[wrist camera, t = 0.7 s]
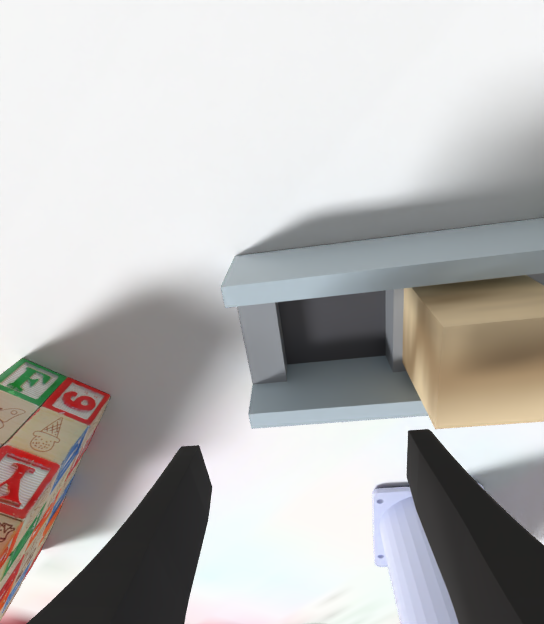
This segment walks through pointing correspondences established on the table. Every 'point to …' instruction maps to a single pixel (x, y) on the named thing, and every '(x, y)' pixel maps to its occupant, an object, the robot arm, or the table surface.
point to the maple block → (477, 350)
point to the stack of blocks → (38, 460)
